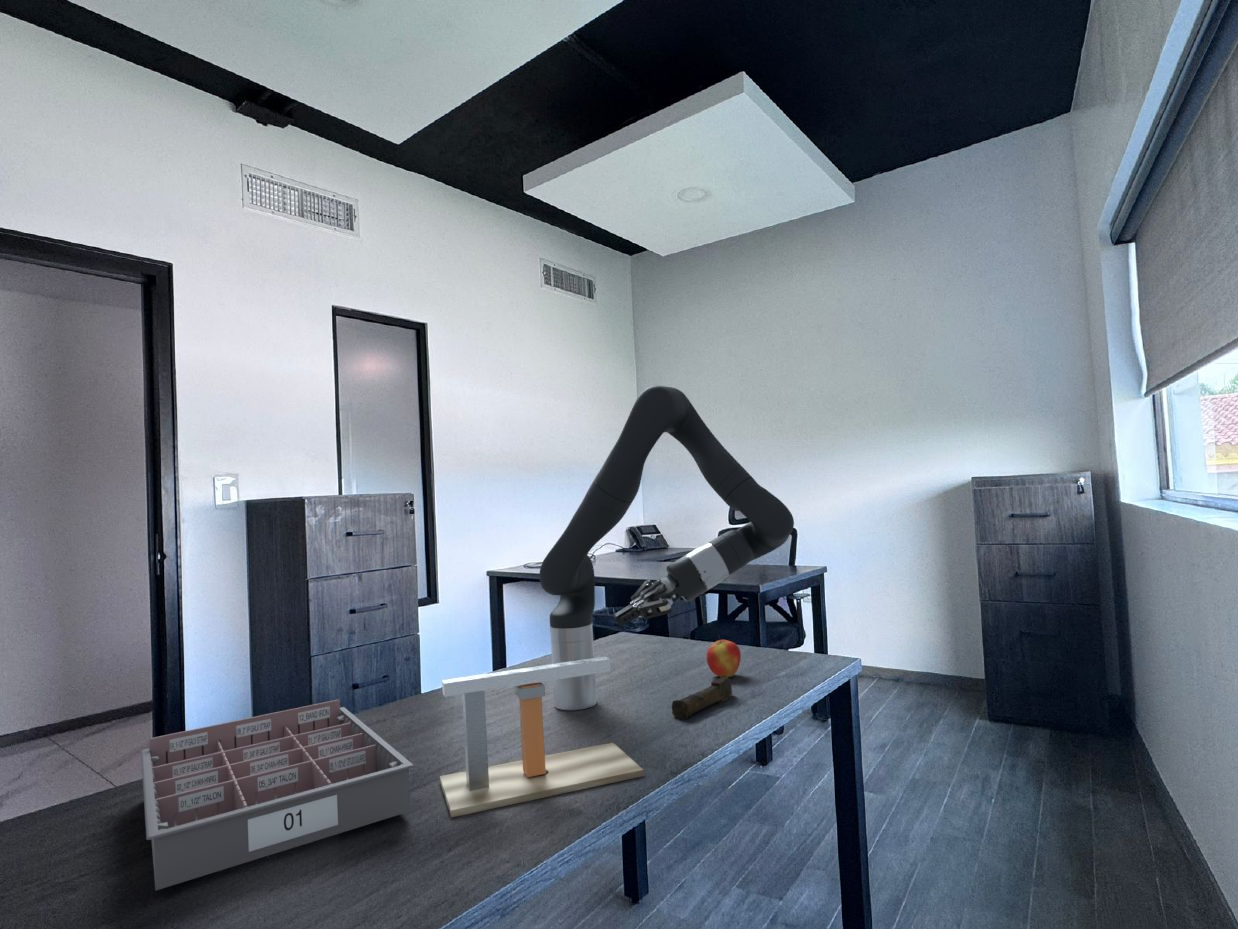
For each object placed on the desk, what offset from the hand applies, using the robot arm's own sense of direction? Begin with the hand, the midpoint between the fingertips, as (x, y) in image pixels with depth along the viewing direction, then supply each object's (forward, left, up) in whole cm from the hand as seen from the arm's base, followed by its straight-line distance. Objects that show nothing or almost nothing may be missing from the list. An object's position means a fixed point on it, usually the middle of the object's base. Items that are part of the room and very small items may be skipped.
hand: (616, 621), depth 126 cm
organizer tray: (-3, -57, -23) cm, 61 cm away
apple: (-31, +38, -22) cm, 54 cm away
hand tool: (-13, +23, -23) cm, 35 cm away
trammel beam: (+7, -18, -21) cm, 29 cm away
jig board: (+7, -17, -22) cm, 29 cm away
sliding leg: (+7, -18, -21) cm, 29 cm away
